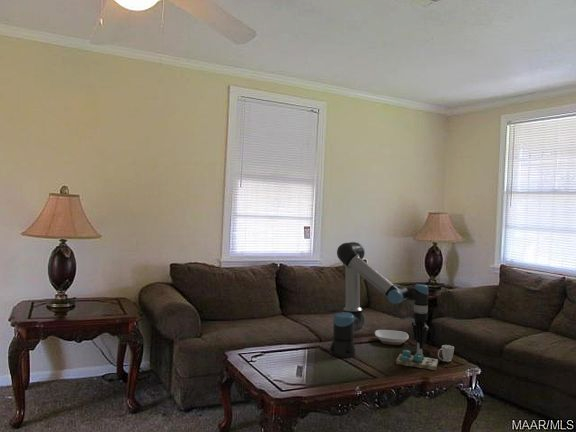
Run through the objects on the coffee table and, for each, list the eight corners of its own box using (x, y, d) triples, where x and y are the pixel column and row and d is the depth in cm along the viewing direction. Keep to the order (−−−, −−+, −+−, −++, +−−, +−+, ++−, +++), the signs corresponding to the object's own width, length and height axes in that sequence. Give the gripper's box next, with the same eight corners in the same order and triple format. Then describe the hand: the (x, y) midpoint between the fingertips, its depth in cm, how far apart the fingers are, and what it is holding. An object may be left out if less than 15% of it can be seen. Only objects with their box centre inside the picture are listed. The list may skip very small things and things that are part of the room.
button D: (414, 360, 265) (414, 354, 265) (415, 358, 269) (415, 352, 269) (422, 361, 263) (422, 356, 263) (423, 359, 267) (423, 353, 267)
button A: (399, 362, 261) (400, 357, 261) (401, 360, 265) (401, 355, 265) (407, 364, 260) (408, 358, 260) (409, 361, 264) (409, 356, 264)
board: (396, 363, 261) (396, 359, 261) (400, 357, 274) (400, 352, 273) (435, 370, 253) (435, 365, 252) (437, 362, 265) (438, 358, 265)
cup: (456, 362, 268) (457, 348, 268) (441, 363, 265) (442, 349, 265) (448, 358, 275) (449, 344, 274) (434, 359, 271) (434, 345, 271)
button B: (401, 356, 267) (402, 351, 267) (403, 354, 271) (403, 349, 271) (409, 358, 266) (409, 352, 266) (410, 355, 270) (411, 350, 270)
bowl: (374, 345, 296) (374, 337, 296) (374, 336, 318) (374, 328, 318) (409, 348, 293) (410, 339, 293) (407, 339, 314) (407, 331, 314)
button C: (412, 362, 259) (413, 356, 259) (413, 359, 263) (414, 354, 263) (421, 363, 257) (421, 357, 257) (422, 361, 261) (422, 355, 261)
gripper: (433, 314, 261) (432, 356, 261) (418, 309, 273) (417, 350, 273) (422, 315, 258) (421, 358, 258) (408, 310, 270) (406, 351, 270)
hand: (419, 353), depth 266 cm, fingers closed
